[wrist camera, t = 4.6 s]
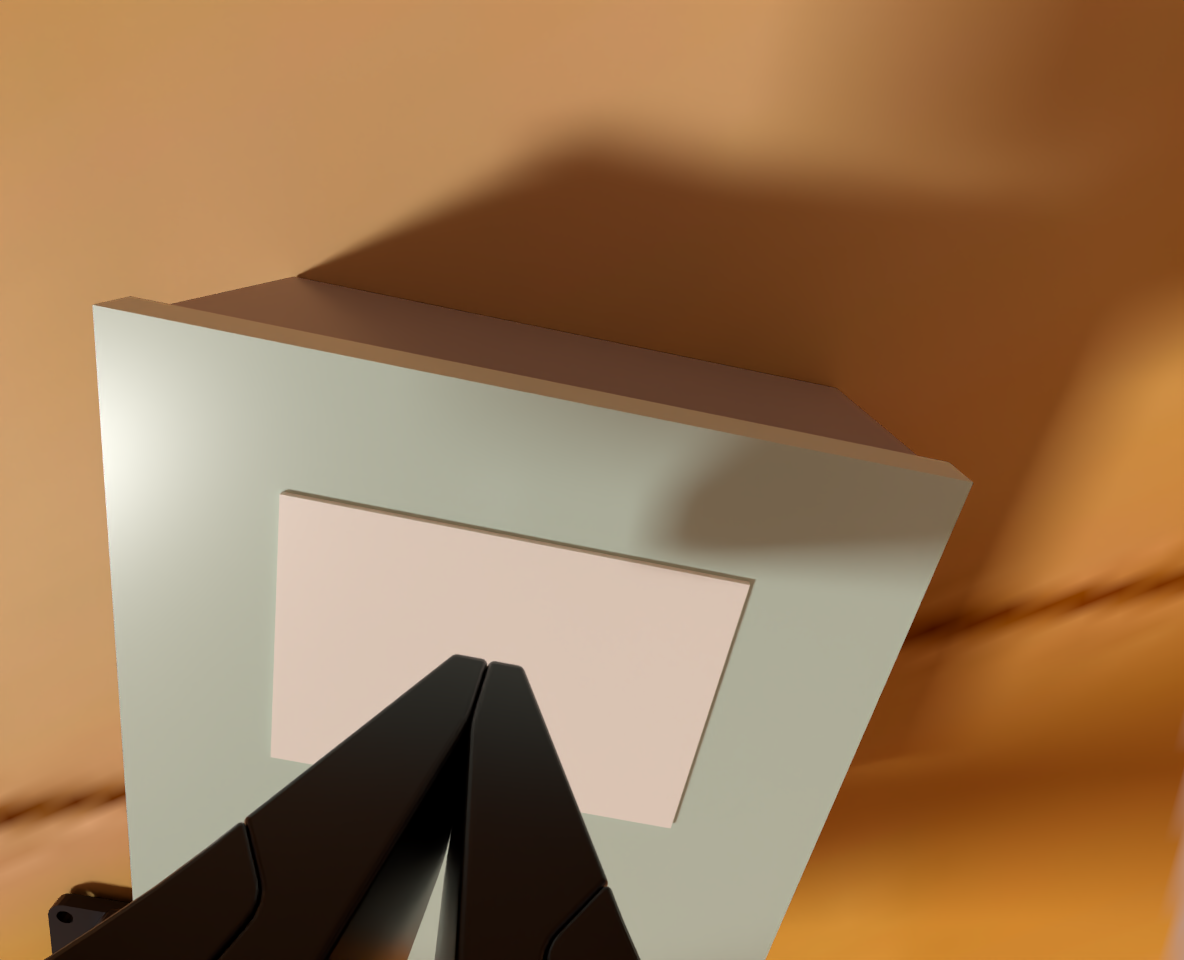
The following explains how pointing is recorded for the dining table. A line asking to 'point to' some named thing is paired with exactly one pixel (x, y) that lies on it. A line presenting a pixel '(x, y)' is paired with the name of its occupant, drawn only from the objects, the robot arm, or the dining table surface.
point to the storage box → (551, 357)
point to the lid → (499, 597)
